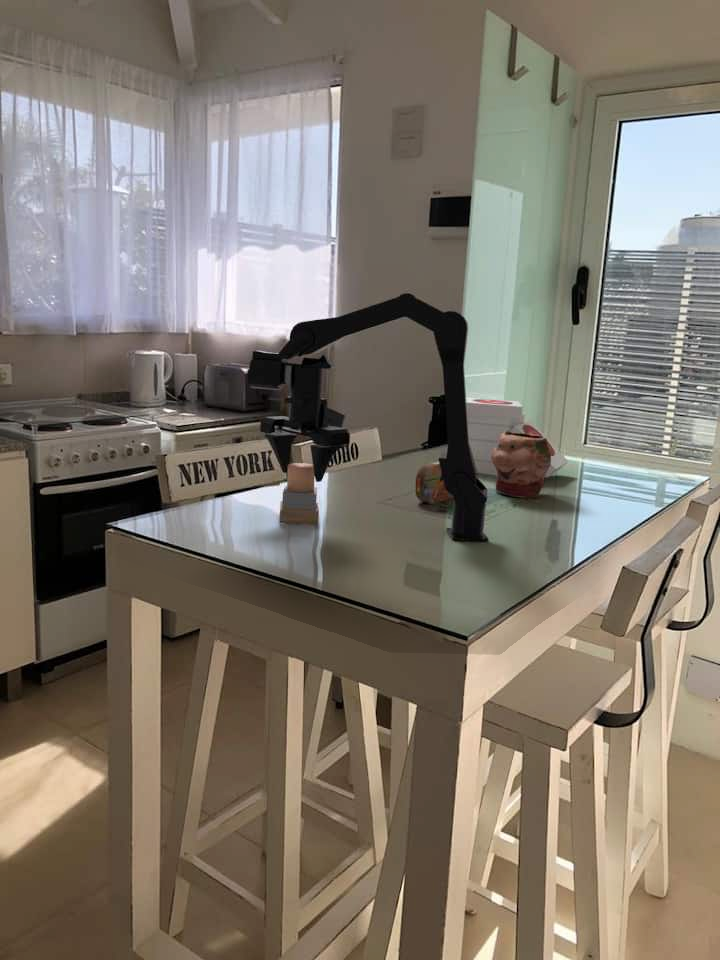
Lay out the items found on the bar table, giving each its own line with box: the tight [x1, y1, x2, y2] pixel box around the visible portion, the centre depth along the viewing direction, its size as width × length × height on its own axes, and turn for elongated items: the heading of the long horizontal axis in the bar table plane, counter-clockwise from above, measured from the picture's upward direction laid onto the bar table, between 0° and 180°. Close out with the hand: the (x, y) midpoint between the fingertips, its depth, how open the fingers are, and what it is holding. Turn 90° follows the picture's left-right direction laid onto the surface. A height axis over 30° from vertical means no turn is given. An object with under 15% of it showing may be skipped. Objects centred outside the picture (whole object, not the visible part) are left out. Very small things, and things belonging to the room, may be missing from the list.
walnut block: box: [279, 500, 320, 526], centre depth 147 cm, size 7×7×3 cm
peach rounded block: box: [286, 462, 316, 493], centre depth 146 cm, size 5×5×4 cm
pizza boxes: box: [466, 397, 569, 478], centre depth 209 cm, size 19×30×18 cm, turn 63°
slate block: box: [281, 485, 318, 510], centre depth 147 cm, size 6×6×3 cm
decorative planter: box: [491, 431, 551, 499], centre depth 183 cm, size 20×12×14 cm, turn 142°
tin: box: [415, 461, 454, 505], centre depth 170 cm, size 15×3×8 cm, turn 143°
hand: (301, 476), depth 146 cm, fingers open, 9 cm apart
